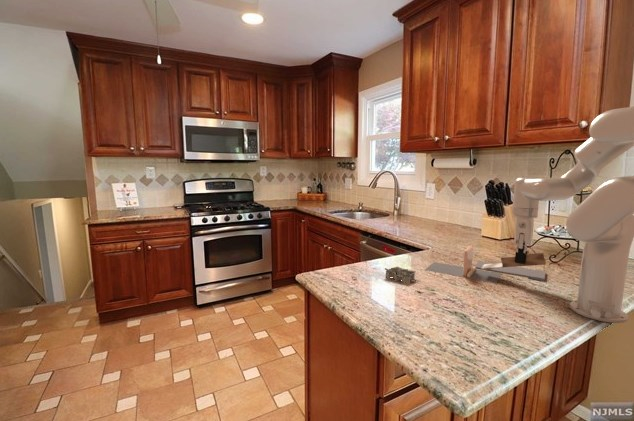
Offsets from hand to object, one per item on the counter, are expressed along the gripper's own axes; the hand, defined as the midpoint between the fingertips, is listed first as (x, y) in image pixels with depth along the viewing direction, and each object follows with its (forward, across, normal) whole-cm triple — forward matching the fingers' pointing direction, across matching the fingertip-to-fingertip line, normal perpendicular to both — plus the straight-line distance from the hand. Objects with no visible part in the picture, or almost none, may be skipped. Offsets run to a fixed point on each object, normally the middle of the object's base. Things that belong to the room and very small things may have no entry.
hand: (520, 261), depth 112 cm
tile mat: (+8, 0, +20) cm, 21 cm away
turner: (+2, 0, +3) cm, 4 cm away
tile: (+8, 0, +18) cm, 19 cm away
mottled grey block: (+9, -21, +37) cm, 44 cm away
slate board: (+8, +13, +4) cm, 16 cm away
